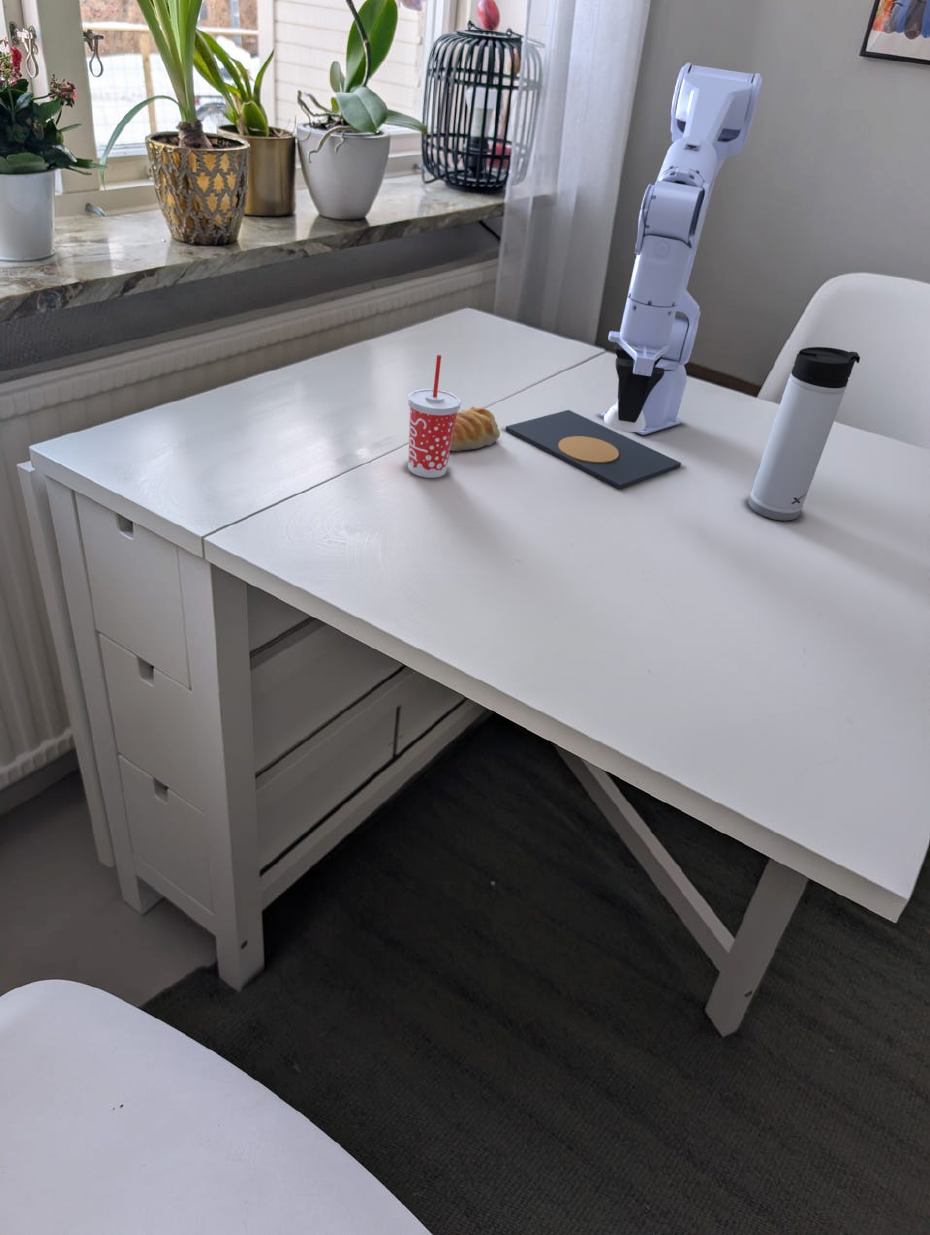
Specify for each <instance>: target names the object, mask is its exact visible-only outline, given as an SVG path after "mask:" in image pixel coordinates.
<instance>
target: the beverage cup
mask: <svg viewBox="0 0 930 1235" xmlns="http://www.w3.org/2000/svg"><path fill="white" fill-rule="evenodd" d="M441 360H442V355H441V354H437V355H436V363H435V372H434V382H433V388H420V389H419V388H418V389H415V390H412V391H410V392H409V394H408V395H407V398H408V400H407V403H408V406H409V429H408V471H409V472H411V473H412V474H414V475H416V476H417V477H420V478H425V479H427V478H429V479H435V478H440V477H443V476H444V475H445V474H446V473H447V470H448V465H449V459H450V452H451V450H450V448H451V443H452V437H453V432H454V426H455V421H456V415H457V412H459V410H460V409H461V404H462V400H461V399H460V397H459V396H457V395H456V394H454V393H452V392H450V391H446V390H443V389H442V390H441V389H439V380H440V371H441Z"/></svg>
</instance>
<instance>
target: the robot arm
mask: <svg viewBox="0 0 930 1235" xmlns="http://www.w3.org/2000/svg"><path fill="white" fill-rule="evenodd" d="M680 68H681V69H680V71H679V72H678V73H679V74H678V77H677V80H676V84H675V87H674V93H673V96H672V103H671V110H670V116H671V118H670V119H671V122H670V133H671V141H672V144H671V145H670V146H669V148H668V150H667V152H666V155H665V157H664V159H663V162H662V165H661V168H660V171H659V173H658V176H657V178H656V181H655V183H654V184H652V183H649V184H648V185H647V187H646V189H645V192H644V194H643V197H642V198H643V199H642V202H641V206H640V210H639V215H638V224H637V237H636V243H635V248H634V254H636V255H635V256H636V257H635V260H634V263H633V264H634V265H633V268H632V274H631V277H630V278H631V279H630V283H629V288H628V292H627V297H626V302H625V306H624V310H623V315H622V320H621V324H620V330H619V331H614V330H611V331H609V333H608V337H607V338H608V341H609V342H612V343H617V344H615V345H614V351H615V355H616V358H615V362H614V363H615V364H614V365H615V370H616V374H617V379H618V384H617V398H616V401H617V400H618V399H619V401H618V419H619V420H620V421H627V422H633V423H635V422H636V421H637V419H638V417H639V415H640V413H641V411H643V414H644V418H645V423H646V426H645V428H644V429H643V430H641V431H637V432H636V433H637V434H639V435H642V436H645V435H649V434H652V433H655V432H658V431H661V430H664V429H667V428H670V427H674V426H677V425H680V424H681V423H682V419H680V418H678V414H679V411H680V408H681V403H682V400H683V395H684V392H685V388H686V385H687V379H688V378H687V371H686V367H685V365H686V364H687V363H688V362H689V361H690V357H691V355H692V351H693V348H694V344H695V340H696V336H697V333H698V329H699V321H700V317H701V310H700V305H699V303H697V301H696V300H695V299H694V297H692V295H691V294H690V293H689V291H688V289H687V288H688V284H689V281H690V277H691V273H692V269H693V265H694V262H695V258H696V253H697V249H698V246H699V243H700V239H701V235H702V231H703V227H704V223H705V220H706V217H707V213H708V209H709V204H710V200H711V197H712V193H713V190H714V185H715V182H716V178H717V175H718V173H719V171H720V170H721V168H722V166H723V164H724V163H725V161H726V159H727V158H728V157H731V156H734V155H736V154H741V152H742V151H743V147H744V146H745V145H746V144H747V140H748V137H749V133H750V130H751V127H752V124H753V121H754V118H755V114H756V110H757V106H758V103H759V98H760V96H761V91H762V87H763V82H764V79H763V77H762V76H761V75H762V74H761V73H760V72H755V73H748V72H741V71H735V70H729V69H721V68H717V67H716V68H715V67H709V66H702V65H695V64H693V63H692V62H686V63H685V65H684V66H682V67H680ZM676 313H680V314H682V315H684V316H680V315H677V314H676ZM685 316H686V317H685ZM608 411H609V410H605V411H602V412H601V414H600V416H601V417H602V418H604V416H605V415H606V414H607V412H608Z"/></svg>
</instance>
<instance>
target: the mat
mask: <svg viewBox="0 0 930 1235" xmlns="http://www.w3.org/2000/svg"><path fill="white" fill-rule="evenodd" d="M505 431H506V432H508V433H509V434H512V435H514V436H515V437H517V438H520V439H521V440H523V441H525V442H527V443H529V444H531V445H533V446H535V447H536V448H538V449H541V450H542V451H544V452H546V453H549V454H550V455H552V456H554V457H556V458H558V459H560V460H562V461H564V462H566V463H568V464H570V465H571V466H574V467H575V468H578V469H579V470H581V471H583V472H585V473H587V474H588V475H591V476H593V477H595V478H597V479H598V480H600V481H603V482H604V483H606V484H608V485H610V486H612V487H615V488H616V489H618V490H620V489H623V488H626V487H628V486H632V485H634V484H637V483H640V482H642V481H645V480H648V479H650V478H653V477H656V476H659V475H662V474H664V473H667V472H670V471H672V470H675V469H678V468H680V467H681V464H682V463H681V462H680V461H679V460H676V459H674V458H672V457H669V456H667V455H665V454H663V453H662V452H659V451H657V450H655V449H652V448H650V447H648V446H646V445H645V444H642V443H640V442H638V441H636V440H634V439H632V438H630V437H627V436H625V435H623V434H621V433H619V432H617V431H614V430H613V429H610V428H608V427H606V426H604V425H601V424H600V423H597V422H595V421H593V420H592V419H589V418H587V417H585V416H582V415H580V414H578V413H577V412H574V411H572V410H570V409H567V410H563V411H558V412H555V413H552V414H548V415H544V416H540V417H537V418H532V419H529V420H525V421H522V422H518V423H514V424H509V425H506V426H505Z"/></svg>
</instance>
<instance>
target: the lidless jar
mask: <svg viewBox="0 0 930 1235" xmlns="http://www.w3.org/2000/svg"><path fill="white" fill-rule="evenodd" d="M618 401H619V399H618V400H617V399H616V401H615V404H613V405H612V406H611V407H610V409H609V410H607V411H608V412H607V414H606V415H605V416H604V417H603V422H604V423H605V424H606V425H607V426H608V427H610V428H612V429H614V430H616V431H619V432H624V433H637V431H641V430H643V429H644V428H645V426H646V423H645V418H644V414H643V411H641V413H640V415H639V417H638V419H637V421H636V422H635V423H633V422H627V421H620V420H619V419H618Z"/></svg>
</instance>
